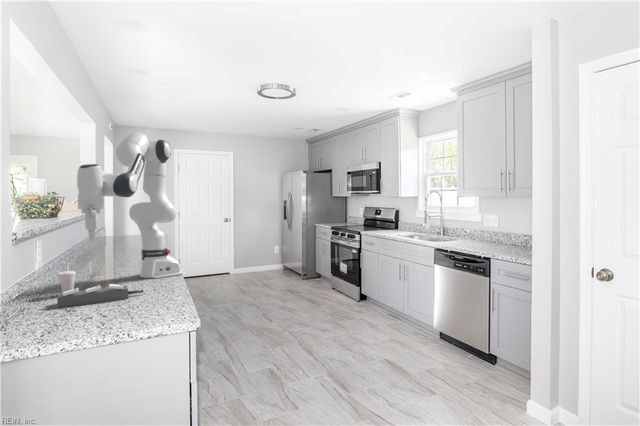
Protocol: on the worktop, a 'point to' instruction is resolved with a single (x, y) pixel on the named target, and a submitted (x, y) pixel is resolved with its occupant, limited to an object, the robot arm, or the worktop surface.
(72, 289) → the block
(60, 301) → the power strip
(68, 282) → the smoothie
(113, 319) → the worktop surface
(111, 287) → the plate
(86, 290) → the rocker
